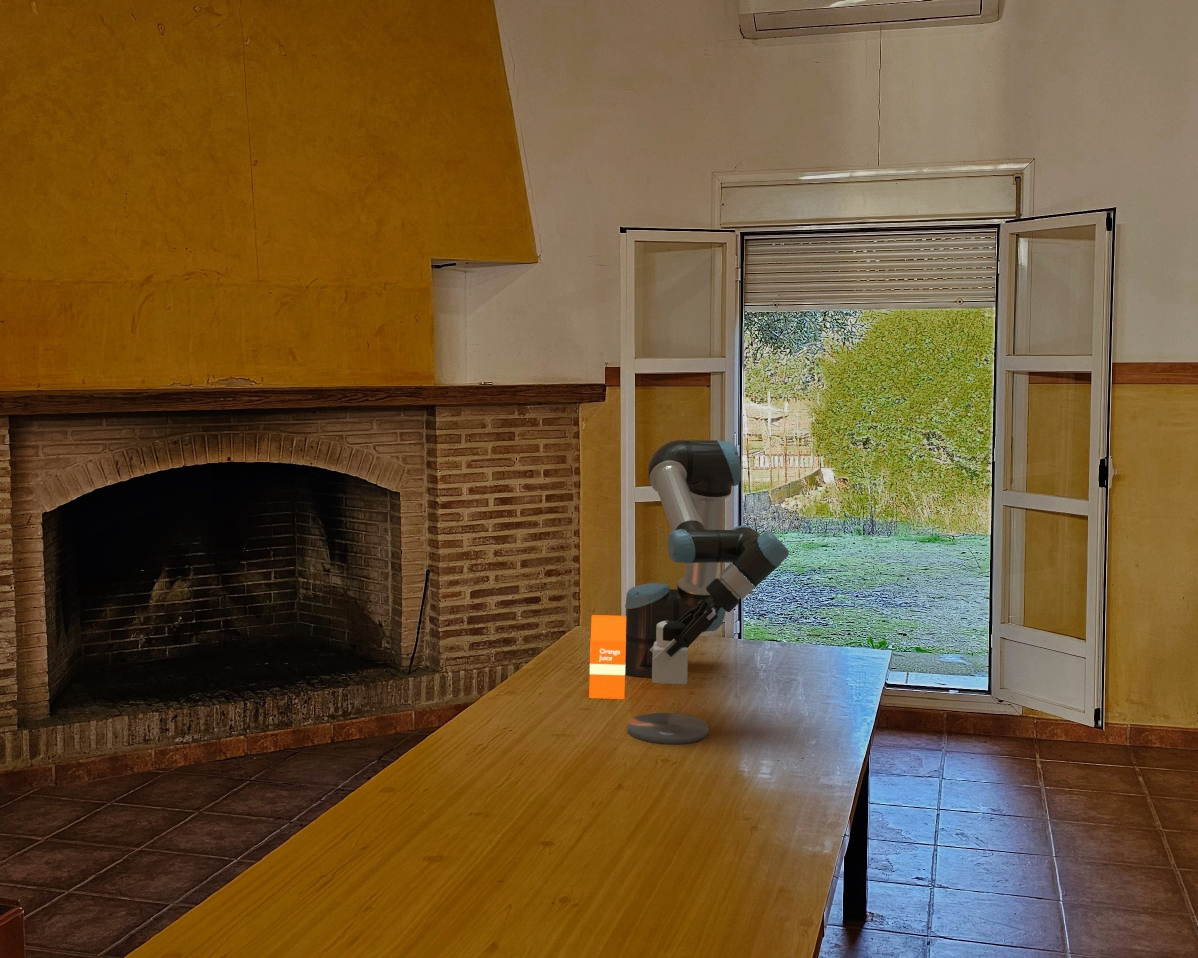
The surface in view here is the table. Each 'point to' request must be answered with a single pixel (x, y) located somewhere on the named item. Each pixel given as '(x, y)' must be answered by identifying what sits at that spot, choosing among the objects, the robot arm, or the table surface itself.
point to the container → (678, 664)
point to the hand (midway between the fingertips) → (655, 658)
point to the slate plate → (668, 728)
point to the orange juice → (607, 657)
